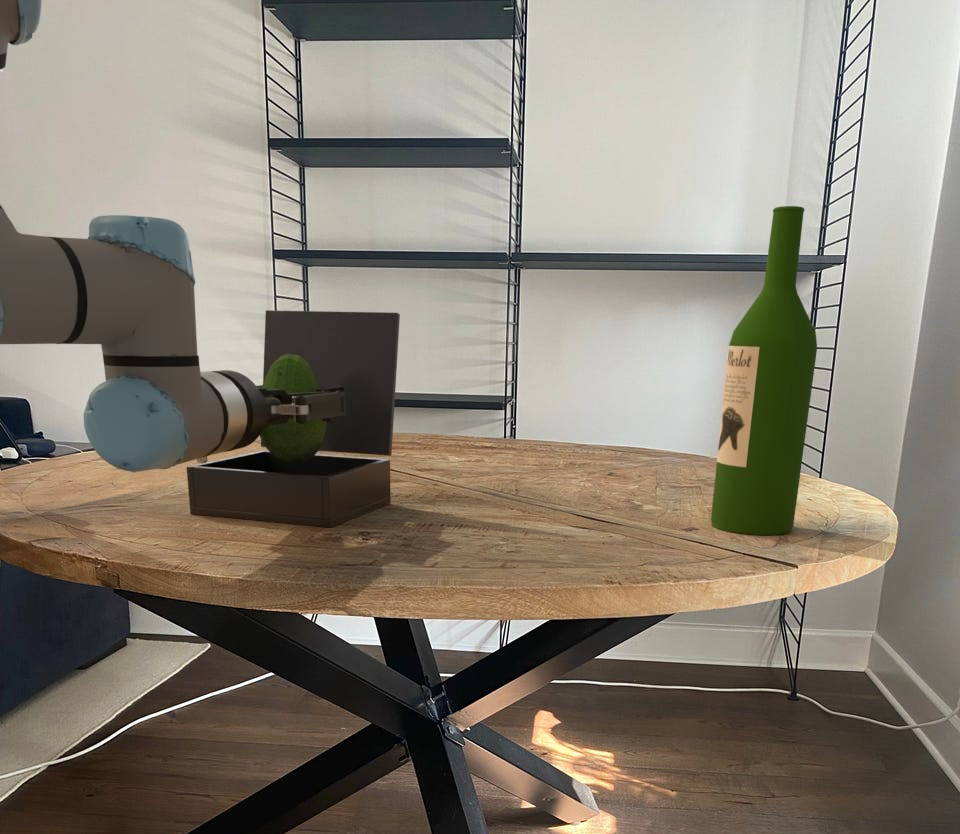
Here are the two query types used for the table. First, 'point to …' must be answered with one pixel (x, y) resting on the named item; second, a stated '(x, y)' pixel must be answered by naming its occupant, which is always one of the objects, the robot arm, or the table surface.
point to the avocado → (292, 437)
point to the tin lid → (344, 369)
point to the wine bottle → (767, 397)
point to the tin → (289, 488)
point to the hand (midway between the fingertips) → (306, 397)
